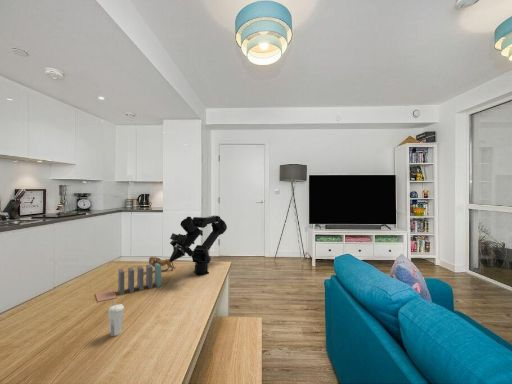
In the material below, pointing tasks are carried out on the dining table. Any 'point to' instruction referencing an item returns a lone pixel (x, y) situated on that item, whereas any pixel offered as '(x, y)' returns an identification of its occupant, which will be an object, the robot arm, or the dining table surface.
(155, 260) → the lion figurine
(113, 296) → the strip
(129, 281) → the domino
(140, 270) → the domino
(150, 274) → the domino
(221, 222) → the robot arm
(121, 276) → the domino
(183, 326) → the dining table surface
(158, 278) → the domino
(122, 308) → the milkshake
